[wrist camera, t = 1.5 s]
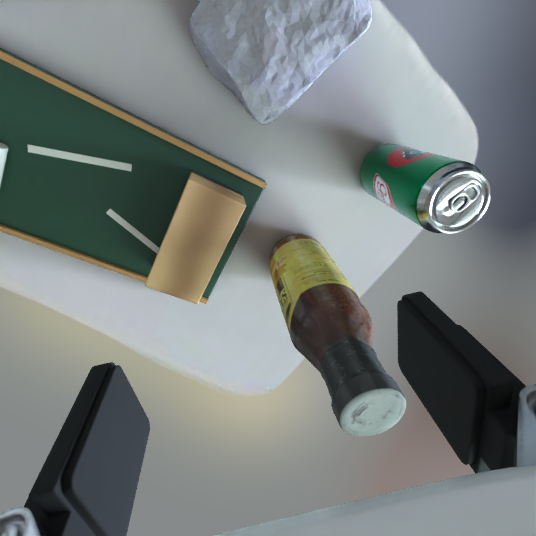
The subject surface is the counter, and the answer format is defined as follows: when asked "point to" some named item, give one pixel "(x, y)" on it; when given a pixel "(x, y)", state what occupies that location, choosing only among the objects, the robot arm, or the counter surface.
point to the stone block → (274, 46)
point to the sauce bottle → (334, 335)
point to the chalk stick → (2, 159)
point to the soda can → (426, 187)
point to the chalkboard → (97, 174)
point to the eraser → (196, 238)
